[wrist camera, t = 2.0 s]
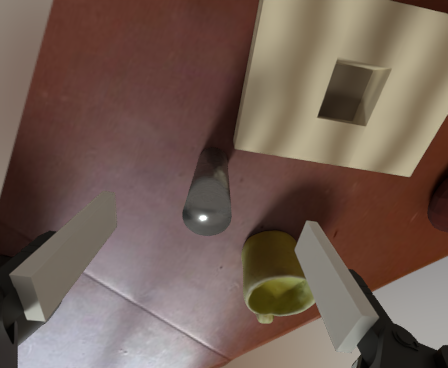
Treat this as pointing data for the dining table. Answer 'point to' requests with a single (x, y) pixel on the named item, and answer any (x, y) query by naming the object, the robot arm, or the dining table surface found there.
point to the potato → (439, 207)
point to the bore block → (345, 83)
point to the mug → (274, 276)
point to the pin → (209, 195)
